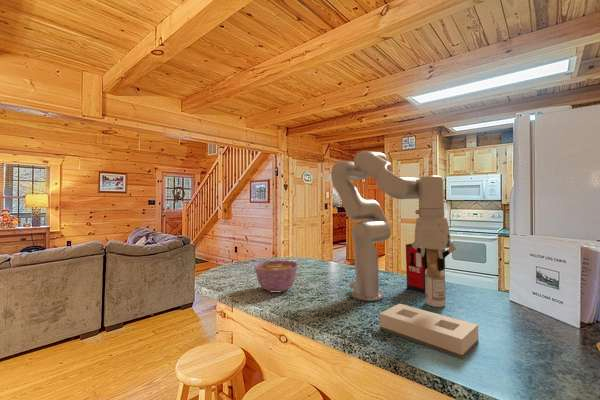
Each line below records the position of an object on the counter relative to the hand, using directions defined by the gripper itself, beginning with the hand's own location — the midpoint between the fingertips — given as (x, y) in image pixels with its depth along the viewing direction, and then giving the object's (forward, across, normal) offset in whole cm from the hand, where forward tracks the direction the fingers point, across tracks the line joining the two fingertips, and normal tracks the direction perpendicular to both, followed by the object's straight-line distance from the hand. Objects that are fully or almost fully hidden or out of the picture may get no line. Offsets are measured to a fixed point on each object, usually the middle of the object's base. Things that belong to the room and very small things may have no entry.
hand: (433, 268), depth 96 cm
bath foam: (+18, -7, +16) cm, 25 cm away
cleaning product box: (+17, -18, +34) cm, 43 cm away
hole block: (+18, +2, -11) cm, 21 cm away
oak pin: (+3, 0, 0) cm, 3 cm away
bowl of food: (+17, -66, -14) cm, 70 cm away
